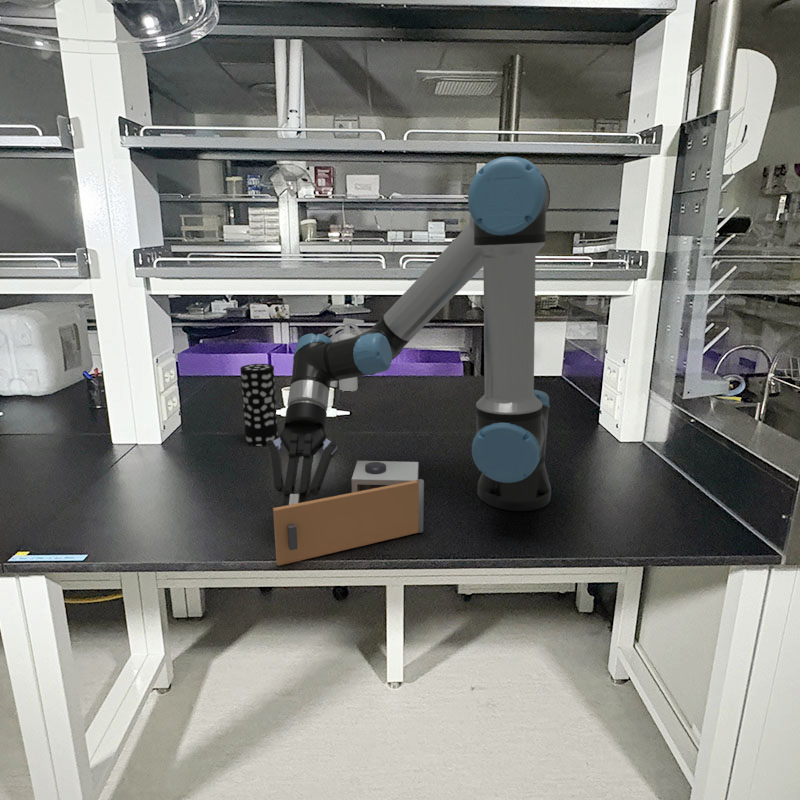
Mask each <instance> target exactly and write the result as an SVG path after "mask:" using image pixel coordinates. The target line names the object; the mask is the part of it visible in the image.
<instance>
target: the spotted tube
mask: <svg viewBox="0 0 800 800" xmlns="http://www.w3.org/2000/svg"><path fill="white" fill-rule="evenodd" d="M239 370H240V380H241V381H240V382H241V394H242V395H241V397H242V409H243V421H244V434H245V444H246V445H248V446H250V445H251V447H256V446H261V447H268V446H267V441H268V440H272V441H274V440H276V439H278V438H279V433H278V432H279V431H278V416H277V415H278V413H277V414H276V412H277V399H276V384H275V383H276V381H275V380H276V378H275V366H274V365H272V364H269V363H252V364H246V365H243V366H240V368H239Z"/></svg>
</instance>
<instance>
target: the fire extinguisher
mask: <svg viewBox="0 0 800 800" xmlns="http://www.w3.org/2000/svg"><path fill="white" fill-rule="evenodd" d="M364 324H365V320H363V319H355V318H349V317H348V318H346V317H345V318H344V319H343V321H342V325H344V326H342V325H341V326H338V327H336V328H334V329H333V330H332V334H331V335H332V336H331V340H332V342H337V341H341V340H345V339H349V338H353V337H355V336H356V335H355V334H353V333H351V332H352V331H351V328H350V327H352V328H353V329H354V330H355V332H356V333H357V336H358V335H360V334H362V331H361V328H359V326H357V325H364ZM340 330H343V333H341V334H340V335H338V337H337V341H336V332H338V331H340ZM358 380H359V379H358V377H354V378H348V379H343V380H339V381H332V382H331V383H330V387H331V388H337V387H338V389H339V391H340V390H342V391H341V392H344V391H351V392H356V391H357V389H359V387H358V384H359V383H358Z"/></svg>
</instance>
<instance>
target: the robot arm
mask: <svg viewBox="0 0 800 800" xmlns="http://www.w3.org/2000/svg"><path fill="white" fill-rule="evenodd" d="M539 169H540V168H538V167H537V166H536V165H535V164H534V163H533V162H531V161H530V160H528V159H526V158H524V157H523V158H522V157H520V156H502V157H498V158H495V159H492V160H490V161H489V162H487V163H485V164H484V165H483V166H482V167H481V168H480V169H479V170H478V171H477V172H476V174H475V175H474V176H473V178H472V180H471V183H470V185H469V188H468V193H467V202H468V203H467V204H468V209H469V213H470V214H469V222H468V224H467V226H466V227H465V228H464V229H463V230H462V231H461V232H459V234H458V235H457V237H455V238H454V239H453V240H452V241H451V243H449V244H448V246H447V247H446V248H445V249H444V250H443V251H442V252H441V253H440V254H439V255H438V257H437V258H436V259H435V260H434V261H433V262H432V263H431V264H430V265H429V266H428V267H427V268H426V269H425V271H424V272H422V274H420V276H419V277H417V279H416V280H415V281H414V282H413V283H412V284H411V285H410V287H408V289H407V290H406V291H405V292H404V293H403V294H402V295H401V296H400V298H398V299H397V300H396V302H395V303H394V304H393V305H391V307H389V309H388V310H387V311H386V312H385V313H384V314H383V316H382V317H381V318H380V319H379V320H378V321H377V322H375V324H374V325H373V326H372V327H371V328H370V329H369V330H367V331H365V332H363V333H362V332H361V333H362V334H360V335H358V334H357V335H355V337H353V338H349V339H345V340H341V341H338V340H337V341H336V342H333V340H332V338H330V337H328V336H327V335H324V334H323V333H318V334H314V333H308V334H307V333H306V334H304V335H303V336H300V338H299V339H298V340H297V342H296V347H295V351H294V354H293V359H292V361H293V363H292V375H291V381H290V386H289V392H288V398H287V408H286V411H285V417H284V423H283V424H284V426H283V430H282V431H281V432H280V435H279V437H278V439H276V440H274V441H272V440H268V441H267V446H266V447H268V449H269V451H270V457H271V464H272V475H273V485H274V487H273V488H274V489H275V491H276V492H277V494H278V495H282V496H283V503H282V506H287V505H292V504H297V503H302V502H307V501H309V498H310V497H312V496H318V495H319V494H320V491H321V489H322V487H323V486H322V485H323V483H324V480H325V477H326V476H327V475H326V474H327V471H328V469H329V465H330V464H331V461H332V458H333V457H334V456H335V454H336V453H337V452H338V451H339V450H338V449H339V448H338V444H337V442H336V441H331V440H329V439H328V437H327V434H326V424H327V416H328V415H327V414H328V413H327V410H328V408H329V398H330V397H329V396H330V388H331V386H330V383H331V382H332V381H338V382H339V380H343V379H348V378H354V377H357V378H359V377H364V376H366V377H367V376H374V375H376V374H380V373H384V372H386V371H388V370H389V369H390V367H391V364H392V361H393V360H394V359H395V358H397V357H398V356H399V355H400V354H401V353H402V351H403V349H404V347H406V345H407V344H408V343H409V342H410V341H411V340H412V339H413V338H414V337H416V335H417V334H418V333H419V332H420V331H421V330H422V329H423V328H424V327H425V326H426V325H427V324H428V323H429V322H430V321H431V320H432V319H433V318H434V317H435V316H436V314H438V313H439V312H440V310H442V308H444V307H445V306H446V304H448V303H449V301H450V300H451V299H452V298H454V297H455V296H456V294H457V293H458V292H460V291H461V289H462V288H464V287H465V285H466V284H467V283H469V282H470V280H471V279H473V277H474V276H475V275H477V273H478V272H479V271H480V270H481V269H482V268H483V271H482V272H483V355H484V358H483V360H484V363H483V364H484V367H483V369H484V374H483V375H484V376H483V378H484V394H483V395H482V396H481V397H480V398H479V399H478V400H477V402H476V404H475V406H476V407H475V408H476V409H475V411H476V412H475V418H476V419H475V420H476V422H475V423H476V424H475V425H476V431H475V432H476V433H475V435H474V437H473V439H472V443H471V455H472V459H473V462H474V464H475V466H476V467H477V469H478V471H480V472H482V473H481V474H480V477H479V479H478V482H477V496H478V498H479V499H480V500H481V501H482V502H483V503H485V504H487V505H488V506H491V507H494V508H497V509H500V510H503V511H504V510H505V511H510V512H511V511H512V512H530V511H531V512H532V511H536V510H540V509H543V508H544V507H546V506H548V505H549V503H550V502H551V498H552V487H551V484H550V480H549V479H550V478H549V476H548V471H547V468H546V464H545V462H546V449H547V448H546V446H547V437H548V435H547V434H548V420H549V411H550V407H551V406H550V397H549V394H547V392H544V391H541V390H538V389H535V386H534V385H535V333H536V332H535V331H536V330H535V325H536V322H535V320H536V316H535V315H536V309H535V308H536V256H537V254H538V252H539V251H540V250H541V249H542V248H543V247H544V246H545V245H546V228H547V227H546V221H547V219H546V217H547V215H546V214H547V213H548V210H549V207H550V201H551V191H550V186H549V183H548V181H547V179H546V178H545V176H544V175H543V174H542V172H541V171H540V170H539ZM282 445H283V446H284V447H285V449H286V451H287V452H288V462H287V467H286V468H287V469H286V470H287V471H286V477H285V483H284V476H283V466H282V458H281V454H280V452H281V451H282ZM321 448H322V449H323V451H322V454H321V456H320V459H319V461H318V465H317V467H316V470H315V473H314V475H313V479H311V477H312V469H313V463H314V456H315V455H317V453H318V452H319V451H320V449H321ZM300 458H302V464H301V465H302V467H301V476H300V481H299V482H300V483H299V489H298V492H299V493H295V489H296V482H297V475H298V473H297V472H298V467H299V463H300Z"/></svg>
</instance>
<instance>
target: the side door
mask: <svg viewBox="0 0 800 800" xmlns="http://www.w3.org/2000/svg"><path fill="white" fill-rule="evenodd" d="M424 488H425V481H424V479H422V478H420V479H419V478H418V480H415V481H410V482H405V483H399V484H394V485H389V486H384V487H379V488H374V489H369V490H364V491H358V492H353V493H352V492H349V493H344V494H338V495H334V496H328V497H323V498H319V499H313V500H308V501H307V502H302V503H297V504H292V505H287V506H283V505H282V506H278V507H276V506H275V507H272V512H273V514H272V516H273V528H274V544H275V560H276V565H277V566H283V565H288V564H293V563H296V562H300V561H304V560H308V559H312V558H317V557H321V556H325V555H329V554H334V553H338V552H341V551H346V550H350V549H354V548H355V549H356V548H359V547H363V546H367V545H372V544H376V543H379V542H380V543H381V542H384V541H388V540H392V539H393V540H394V539H398V538H401V537H405V536H406V537H407V536H409V535H413V534H418V533H423V532H424V507H425V506H424V504H425V503H424V501H425V500H424V499H425V497H424V495H425V489H424Z"/></svg>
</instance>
